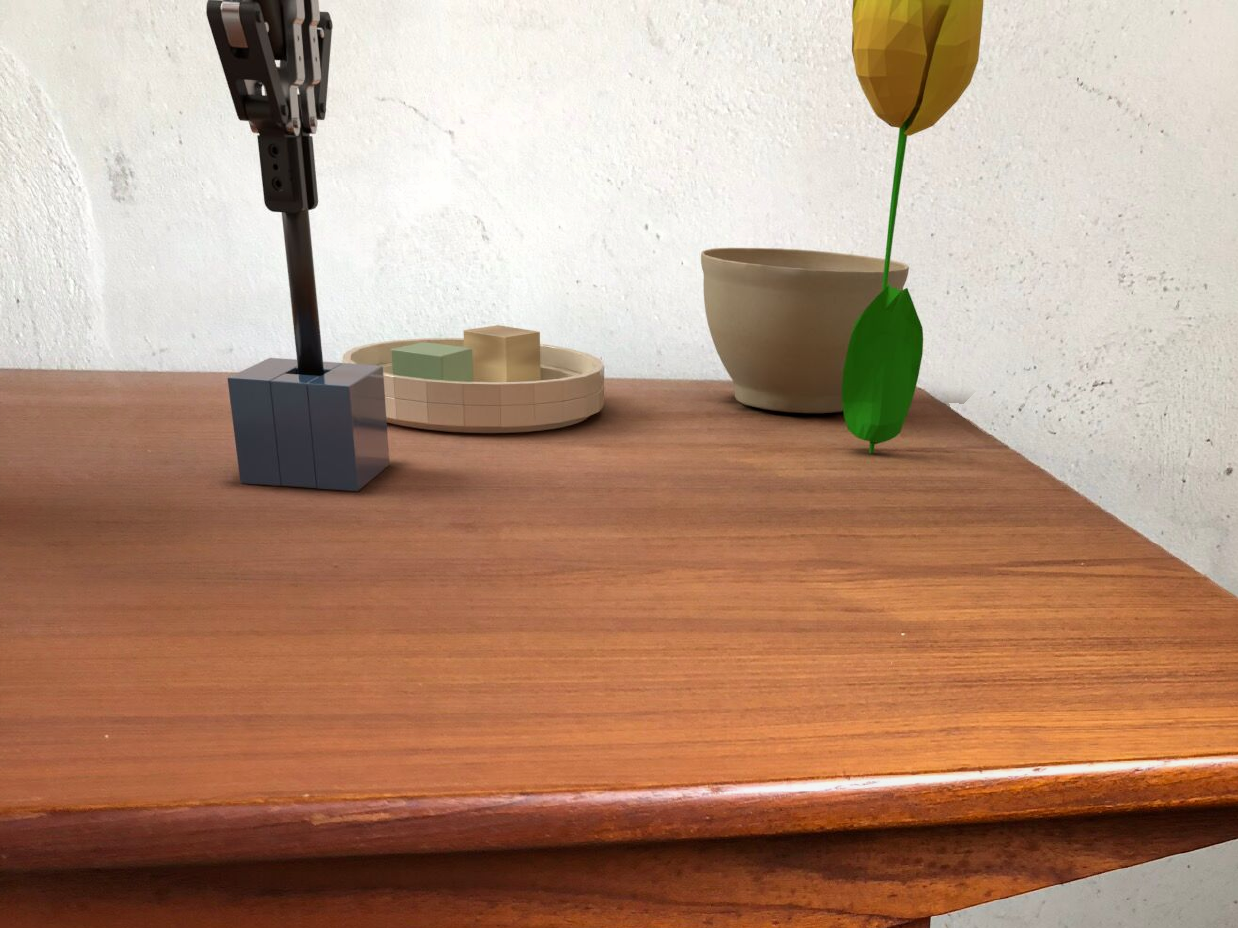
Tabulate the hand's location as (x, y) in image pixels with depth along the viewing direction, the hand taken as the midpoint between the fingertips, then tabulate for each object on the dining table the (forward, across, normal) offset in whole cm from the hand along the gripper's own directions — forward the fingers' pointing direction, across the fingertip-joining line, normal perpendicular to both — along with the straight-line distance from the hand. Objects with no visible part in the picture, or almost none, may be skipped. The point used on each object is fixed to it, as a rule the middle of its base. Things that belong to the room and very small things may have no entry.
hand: (292, 209), depth 81 cm
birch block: (+14, -28, +6) cm, 32 cm away
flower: (+15, -17, +35) cm, 42 cm away
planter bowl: (+15, -33, +29) cm, 46 cm away
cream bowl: (+15, -23, +5) cm, 28 cm away
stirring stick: (+10, 0, 0) cm, 10 cm away
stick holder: (+15, 0, 0) cm, 15 cm away
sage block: (+14, -18, +3) cm, 23 cm away
